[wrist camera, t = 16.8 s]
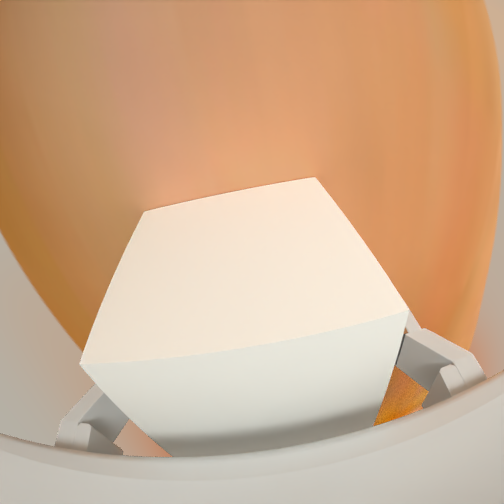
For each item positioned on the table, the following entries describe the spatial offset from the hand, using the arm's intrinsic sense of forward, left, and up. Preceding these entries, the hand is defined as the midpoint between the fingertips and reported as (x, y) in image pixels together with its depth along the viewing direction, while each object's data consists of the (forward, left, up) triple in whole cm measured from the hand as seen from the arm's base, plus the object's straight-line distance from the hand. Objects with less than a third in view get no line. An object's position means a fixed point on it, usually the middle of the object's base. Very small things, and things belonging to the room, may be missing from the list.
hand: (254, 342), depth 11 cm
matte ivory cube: (-1, 0, -4) cm, 4 cm away
